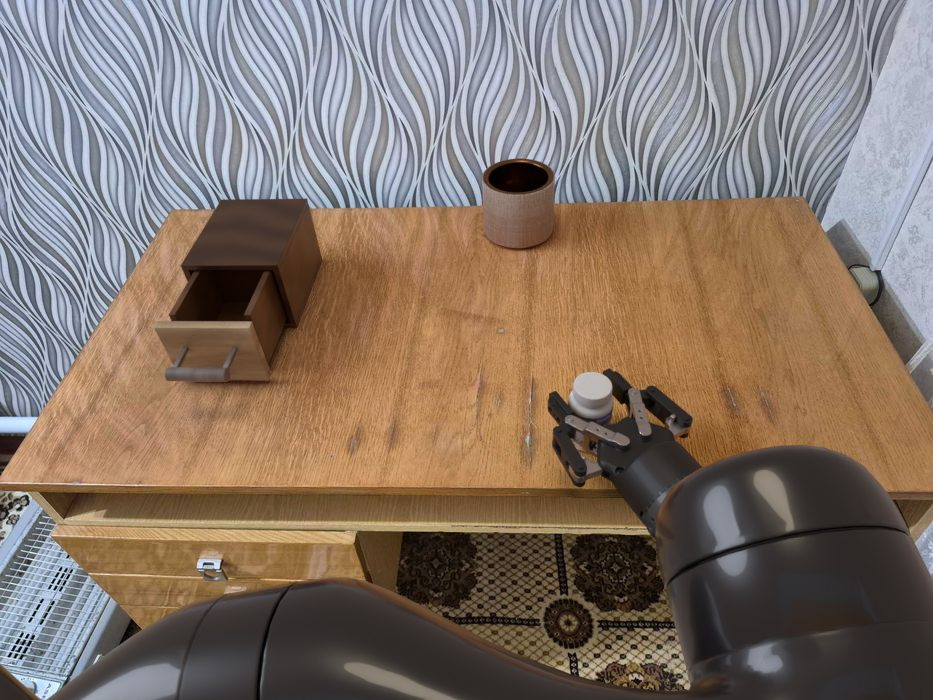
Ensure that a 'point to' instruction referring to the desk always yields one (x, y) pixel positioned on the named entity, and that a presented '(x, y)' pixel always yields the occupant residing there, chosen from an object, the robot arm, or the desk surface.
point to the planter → (518, 202)
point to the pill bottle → (592, 400)
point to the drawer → (224, 326)
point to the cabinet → (262, 246)
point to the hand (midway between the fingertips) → (578, 386)
